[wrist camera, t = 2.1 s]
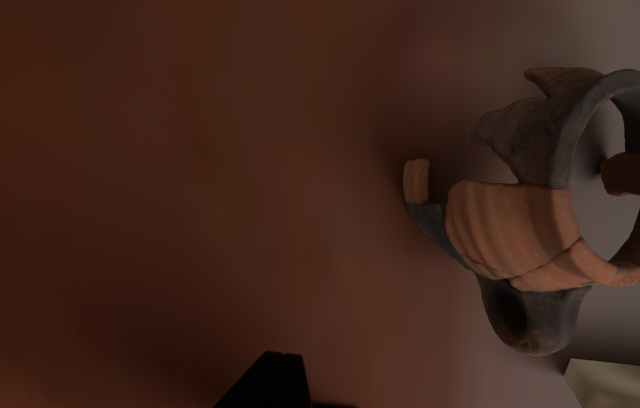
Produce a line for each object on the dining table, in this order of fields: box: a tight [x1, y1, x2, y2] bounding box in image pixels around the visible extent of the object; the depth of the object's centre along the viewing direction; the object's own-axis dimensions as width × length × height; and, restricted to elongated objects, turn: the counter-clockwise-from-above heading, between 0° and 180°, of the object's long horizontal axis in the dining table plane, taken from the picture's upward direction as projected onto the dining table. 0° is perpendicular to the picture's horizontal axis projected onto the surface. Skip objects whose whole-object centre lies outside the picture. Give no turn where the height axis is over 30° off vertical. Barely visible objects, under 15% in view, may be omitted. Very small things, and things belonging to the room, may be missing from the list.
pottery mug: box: [403, 67, 640, 357], centre depth 16 cm, size 12×10×8 cm
